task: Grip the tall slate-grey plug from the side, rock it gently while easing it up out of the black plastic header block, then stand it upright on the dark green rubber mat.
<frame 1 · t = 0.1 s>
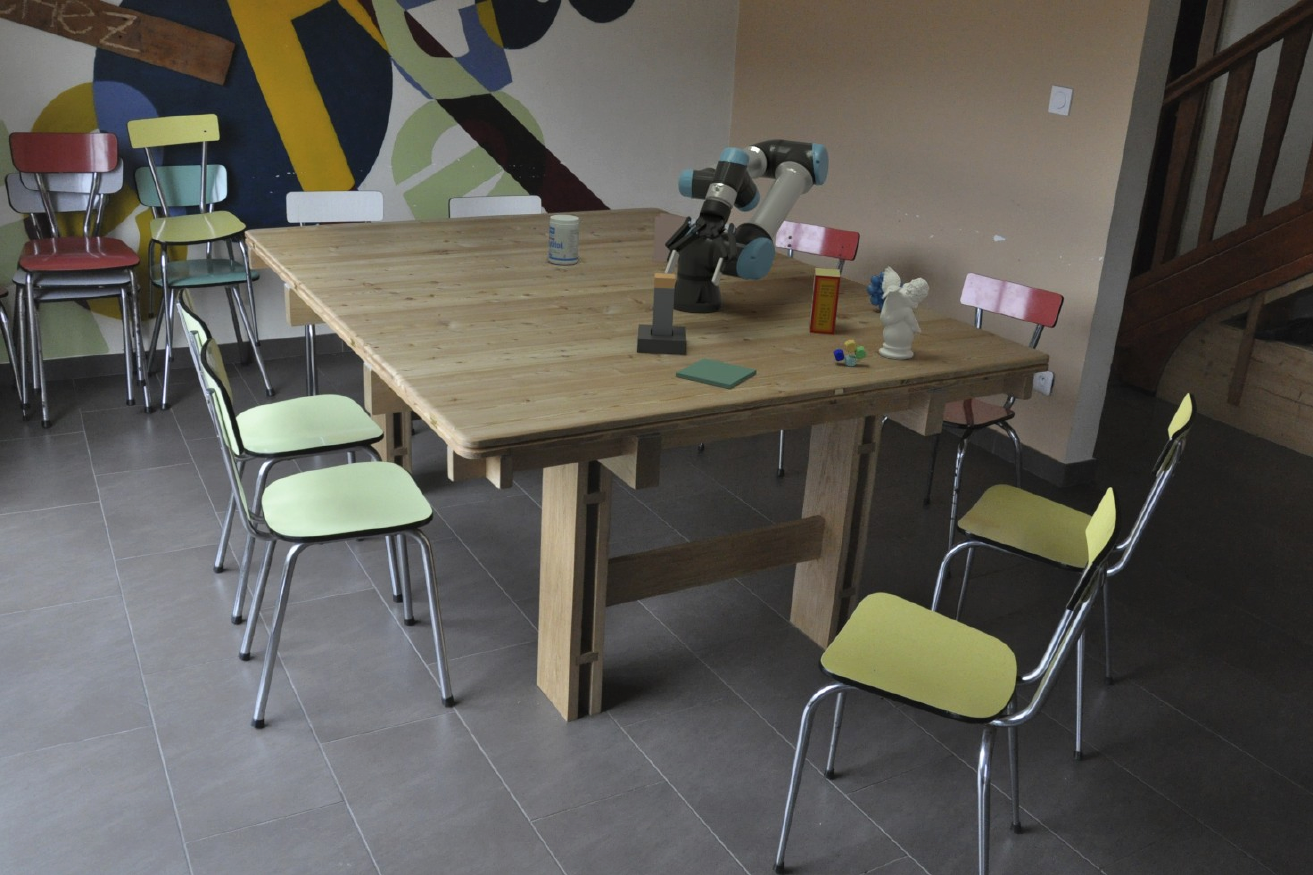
hand: (691, 279, 283), 15 cm above the table, tool tilted 35°, fingers open, 13 cm apart
grapes: (884, 313, 321), on the table
greeting card: (668, 262, 371), on the table
header: (661, 345, 280), on the table
baking soda box: (821, 329, 302), on the table
dice: (848, 365, 273), on the table
mat: (716, 375, 260), on the table
cherub figurine: (891, 356, 282), on the table
plug: (663, 311, 277), in the header
supplement tub: (563, 263, 362), on the table
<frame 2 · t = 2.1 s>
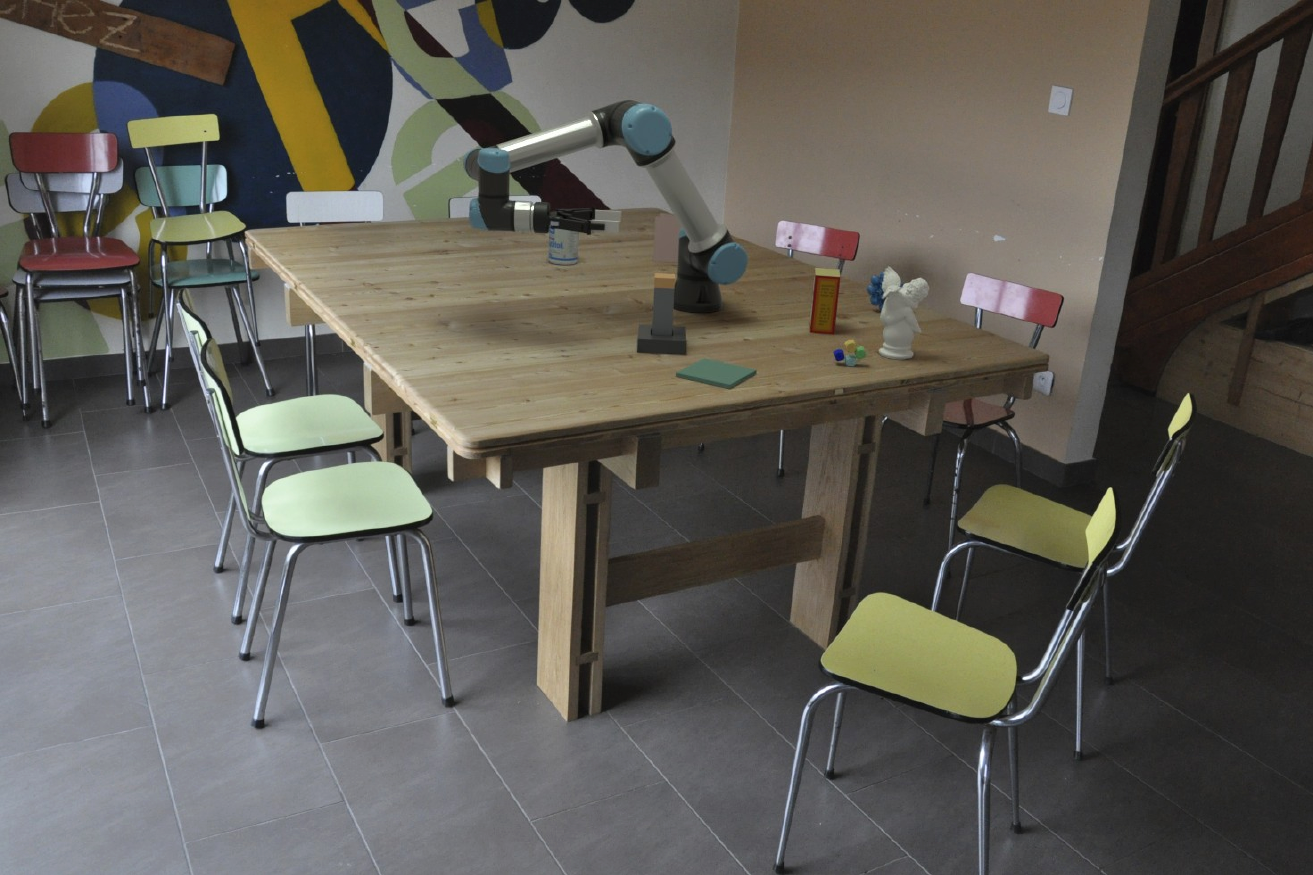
hand: (620, 222, 273), 30 cm above the table, tool horizontal, fingers open, 13 cm apart
nothing on the table moved.
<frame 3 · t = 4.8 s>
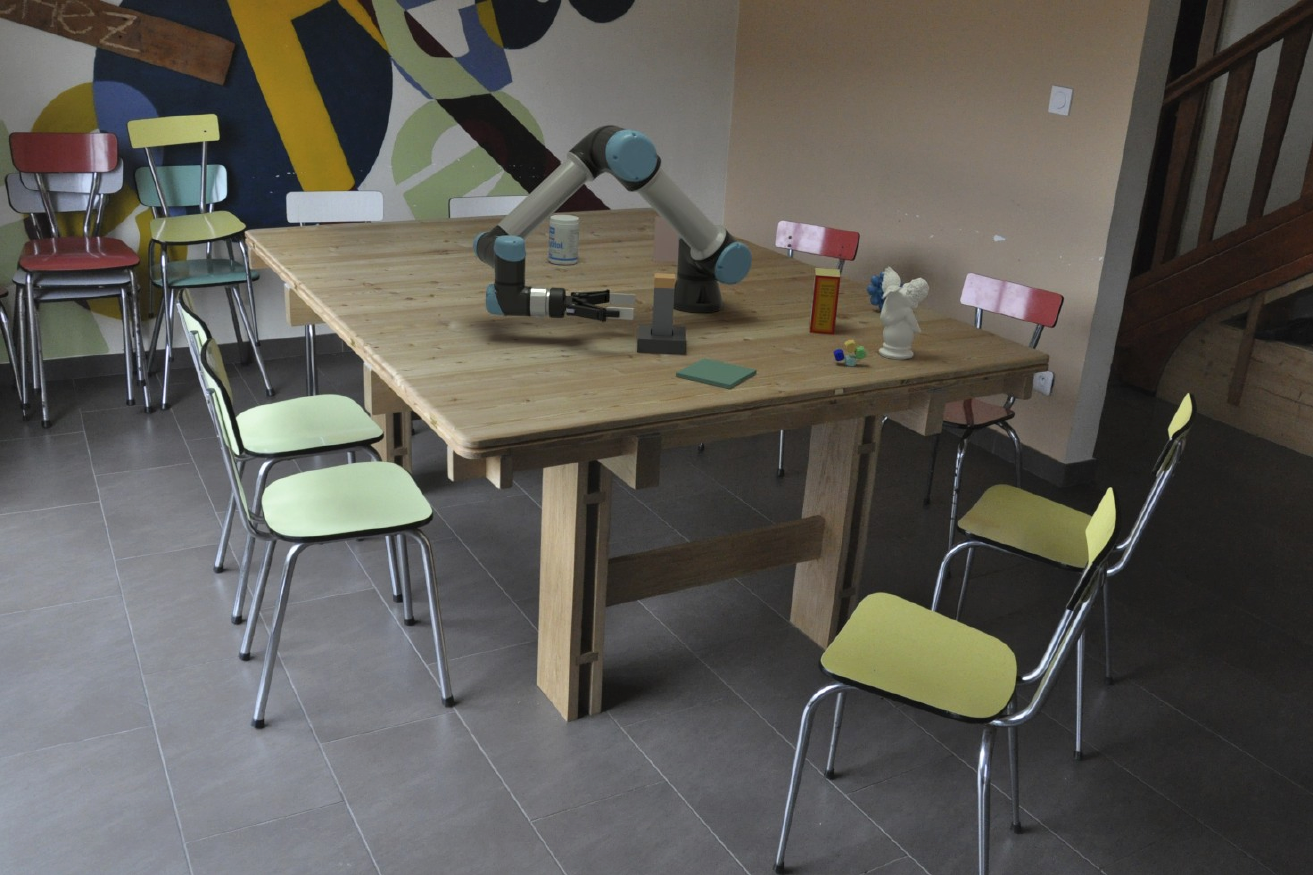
hand: (634, 306, 276), 10 cm above the table, tool horizontal, fingers open, 13 cm apart
nothing on the table moved.
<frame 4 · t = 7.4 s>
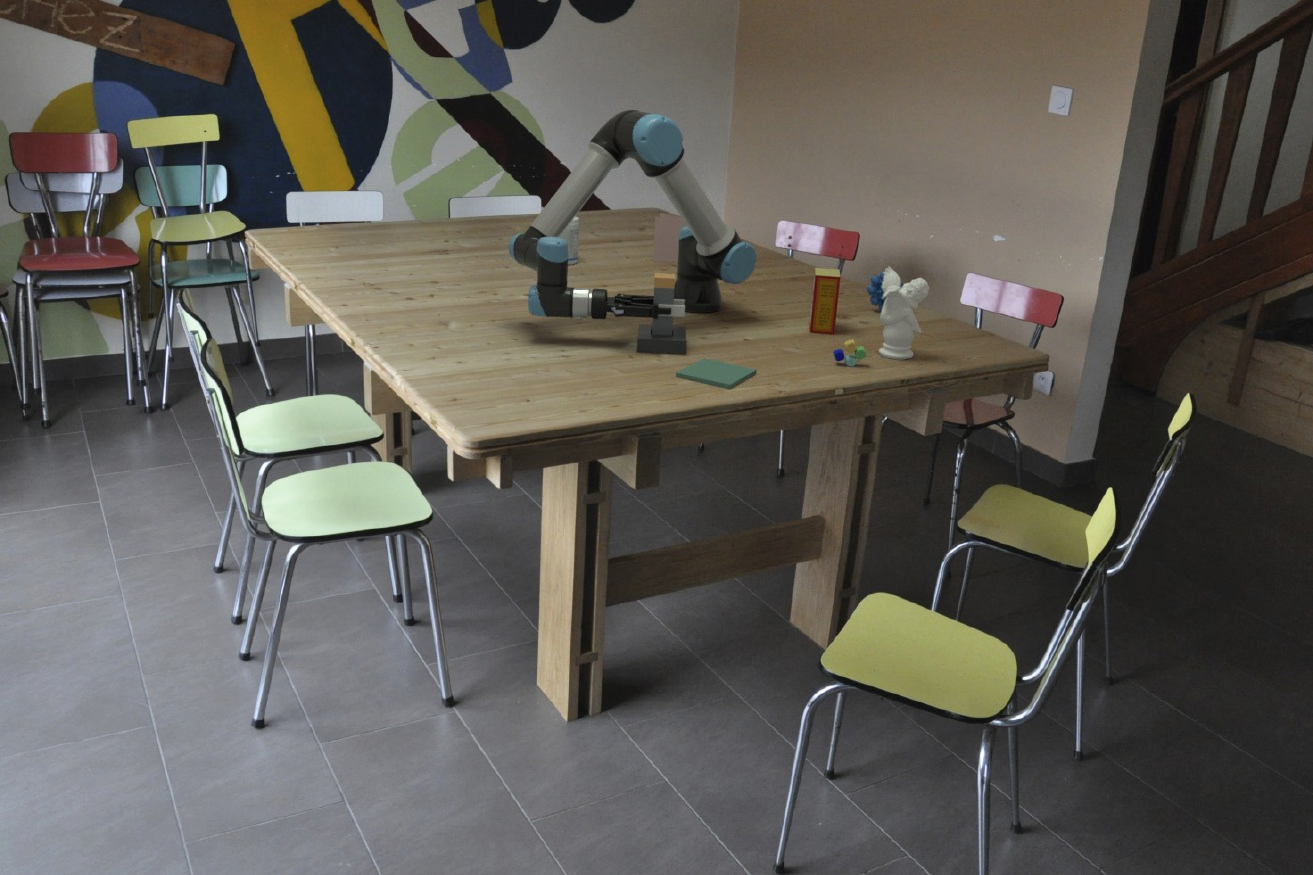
hand: (684, 308, 276), 10 cm above the table, tool horizontal, fingers closed on plug, 5 cm apart
plug: (663, 311, 277), in the header, touching gripper
everything else where it was.
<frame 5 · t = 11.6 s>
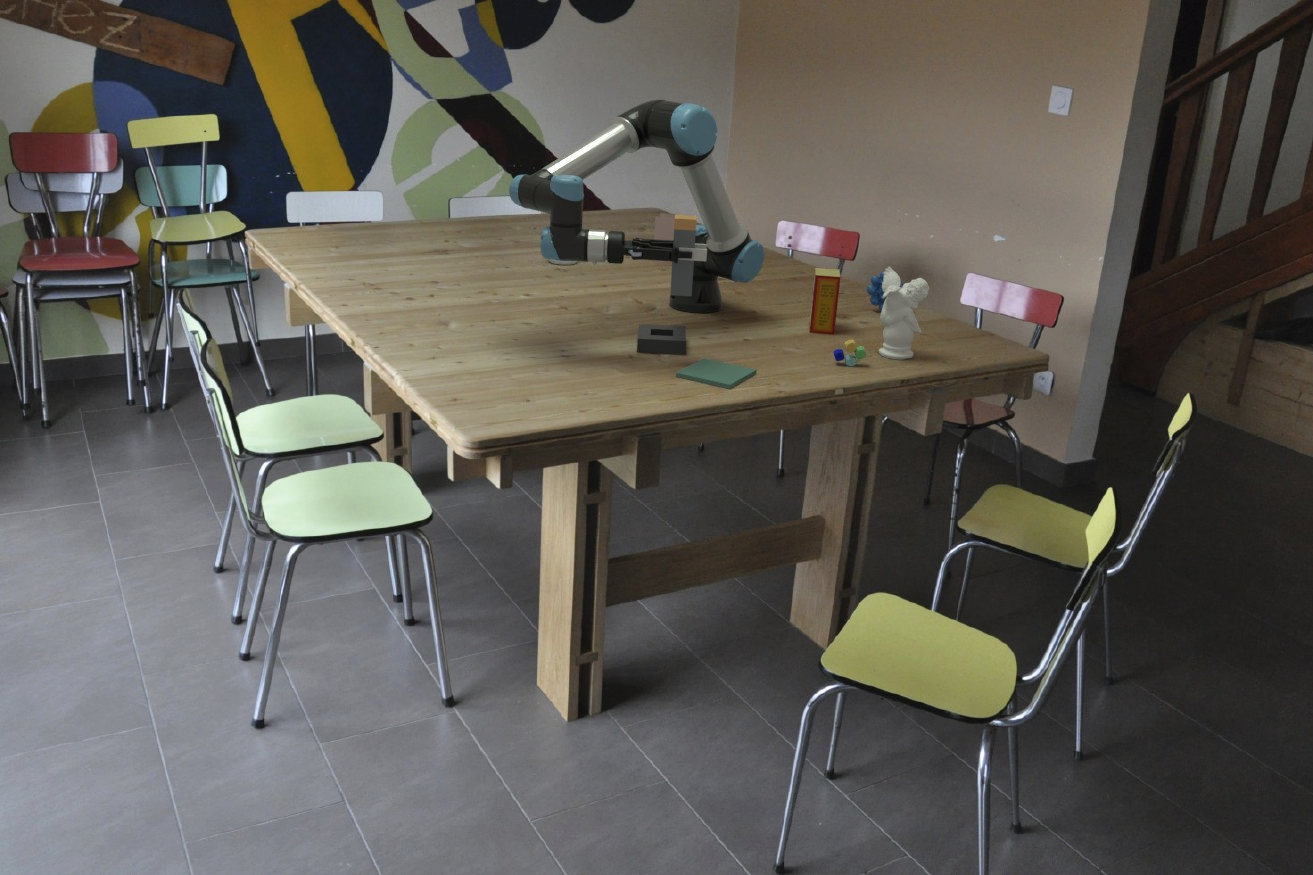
hand: (706, 252, 260), 27 cm above the table, tool horizontal, fingers closed on plug, 5 cm apart
plug: (683, 255, 260), point 26 cm above the table, touching gripper
everything else where it was.
when the fingers open (12 cm above the table, at t = 15.8 s): plug stays where it is, resting on mat.
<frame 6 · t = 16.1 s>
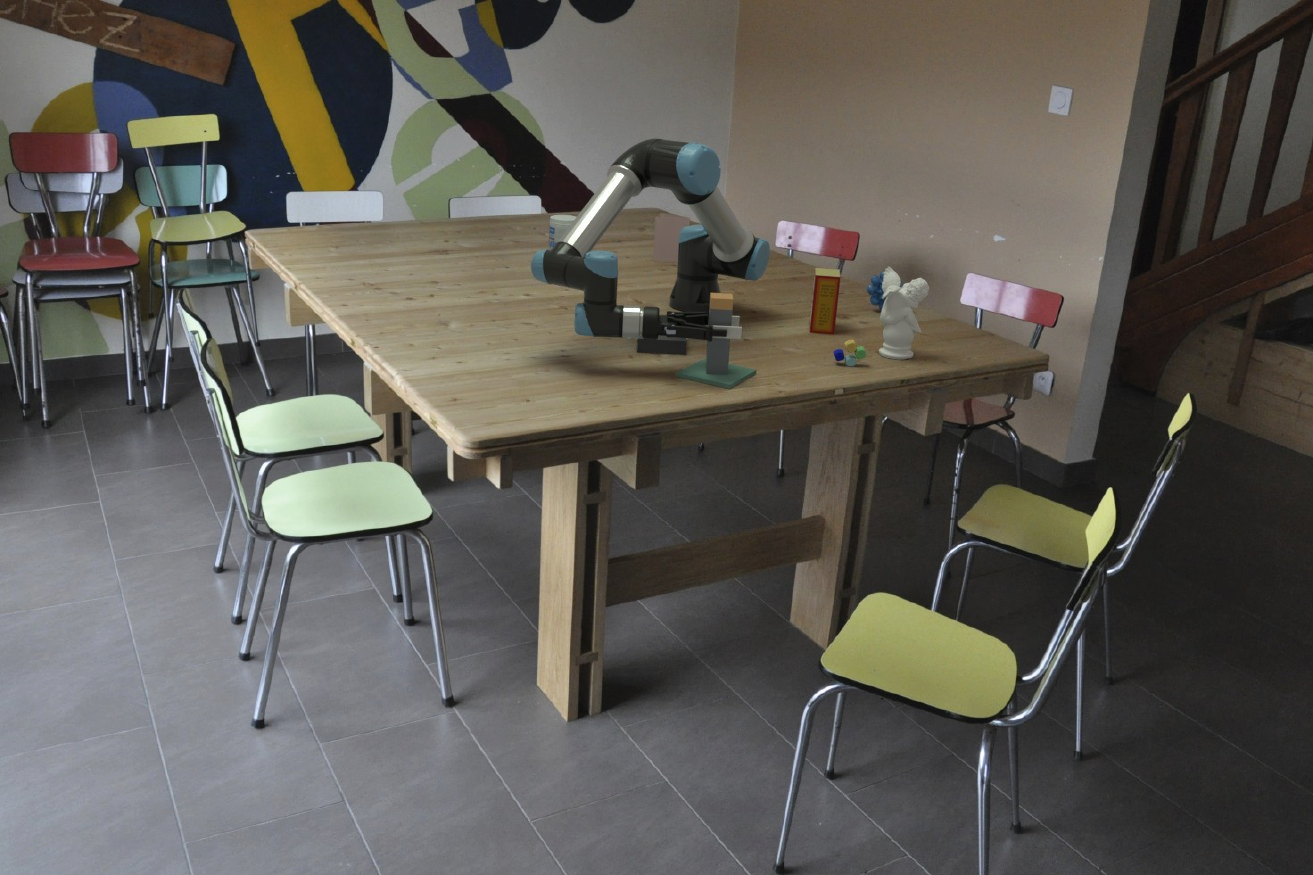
hand: (740, 327, 256), 12 cm above the table, tool horizontal, fingers open, 8 cm apart
plug: (719, 333, 257), on the mat, point 10 cm above the table
everything else where it was.
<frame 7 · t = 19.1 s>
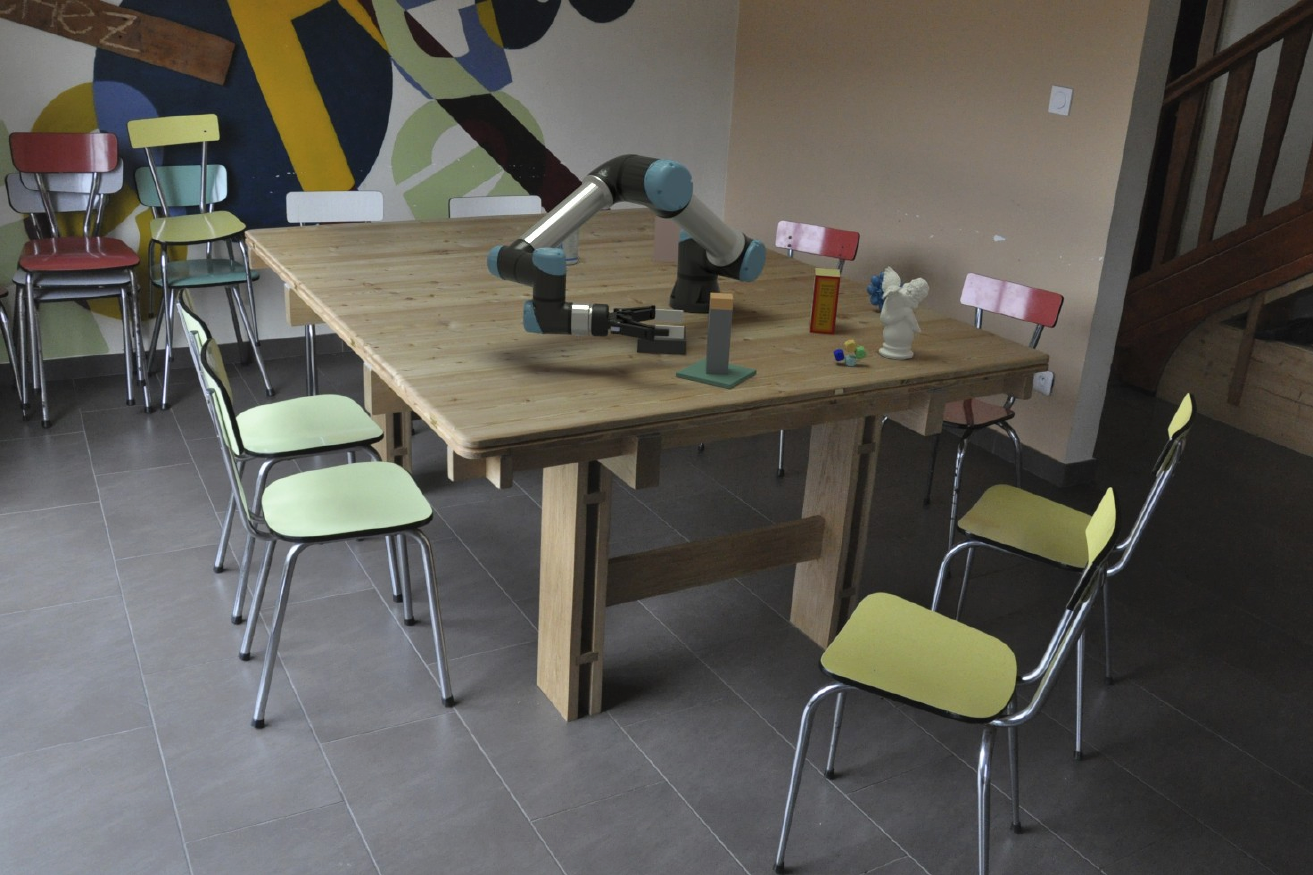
hand: (683, 324, 256), 12 cm above the table, tool horizontal, fingers open, 13 cm apart
nothing on the table moved.
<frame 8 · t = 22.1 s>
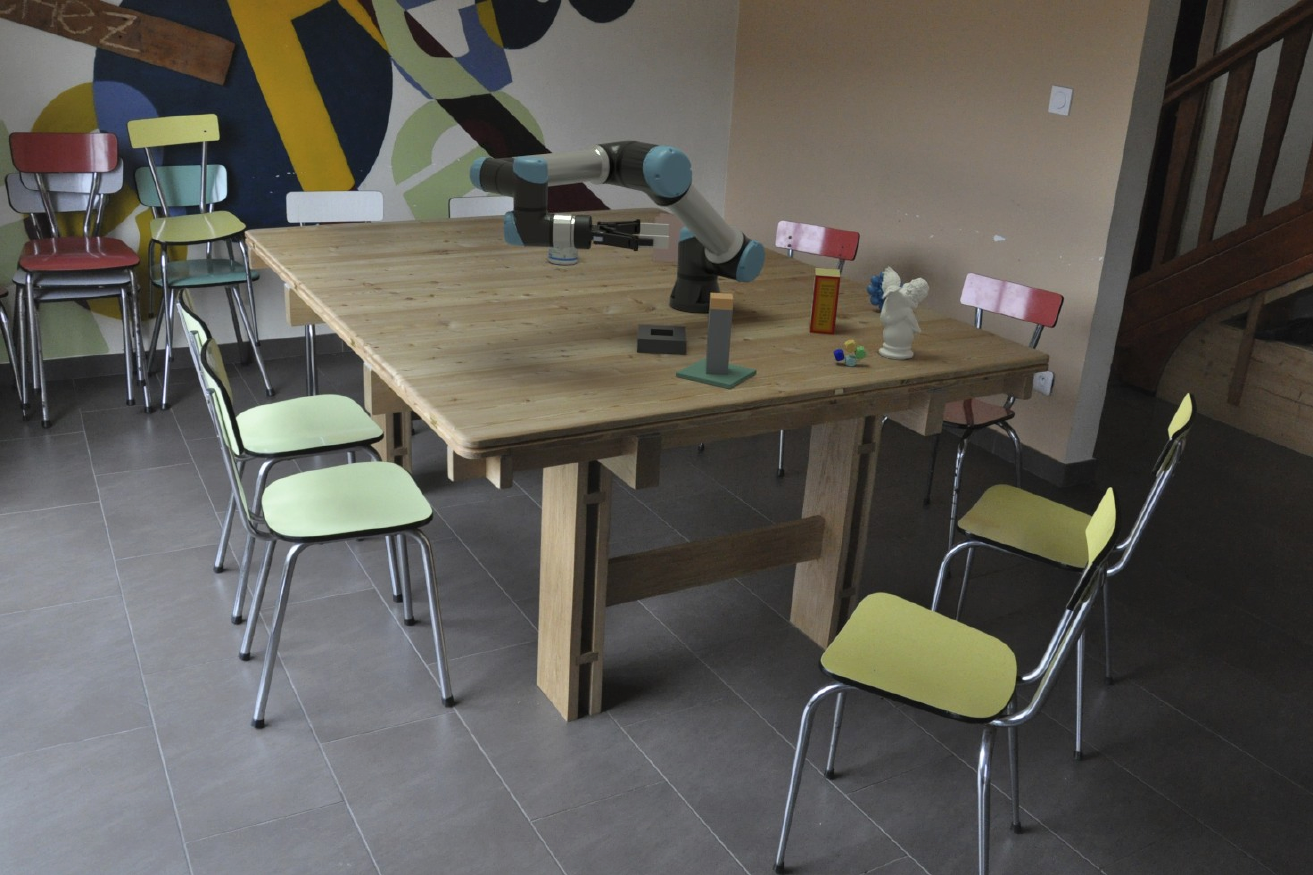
hand: (668, 236, 249), 32 cm above the table, tool horizontal, fingers open, 13 cm apart
nothing on the table moved.
at the end: plug inside the target area on the mat (0.1 cm from its centre), point 10.0 cm above the mat's base; plug tilted 0°; the gripper is holding nothing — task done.
